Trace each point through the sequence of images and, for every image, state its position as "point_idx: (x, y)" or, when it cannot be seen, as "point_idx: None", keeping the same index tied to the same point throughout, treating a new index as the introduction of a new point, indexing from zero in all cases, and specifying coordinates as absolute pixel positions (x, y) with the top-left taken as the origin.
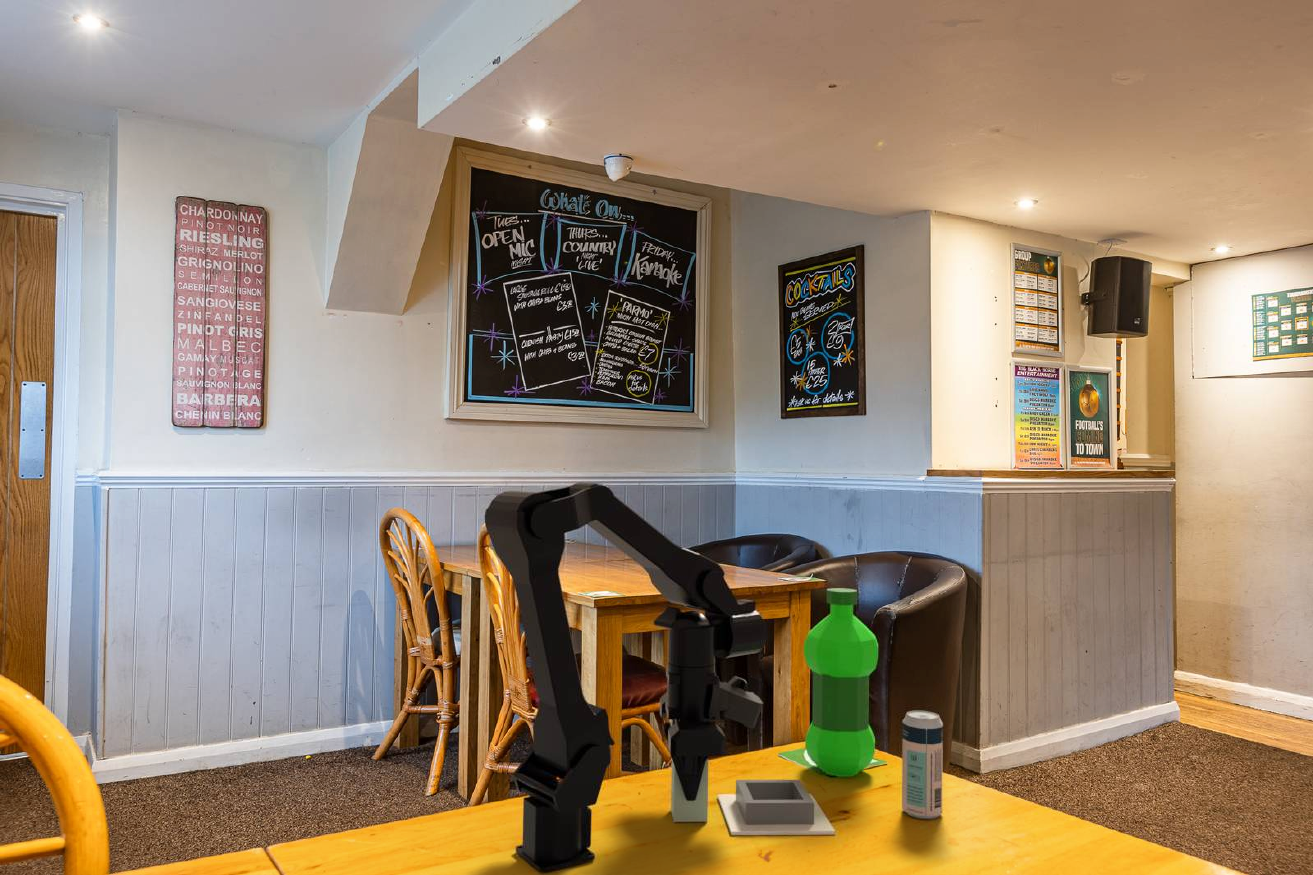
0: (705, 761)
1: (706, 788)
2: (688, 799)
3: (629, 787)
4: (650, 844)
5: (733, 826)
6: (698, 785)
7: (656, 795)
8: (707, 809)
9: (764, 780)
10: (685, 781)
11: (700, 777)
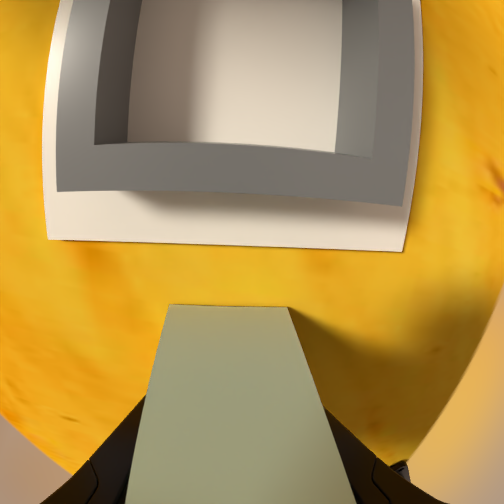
0: (436, 500)
1: (315, 389)
2: None
3: (45, 424)
4: (380, 416)
5: (366, 236)
6: (347, 430)
7: (72, 394)
8: (294, 330)
9: (73, 39)
10: None
11: (369, 453)
